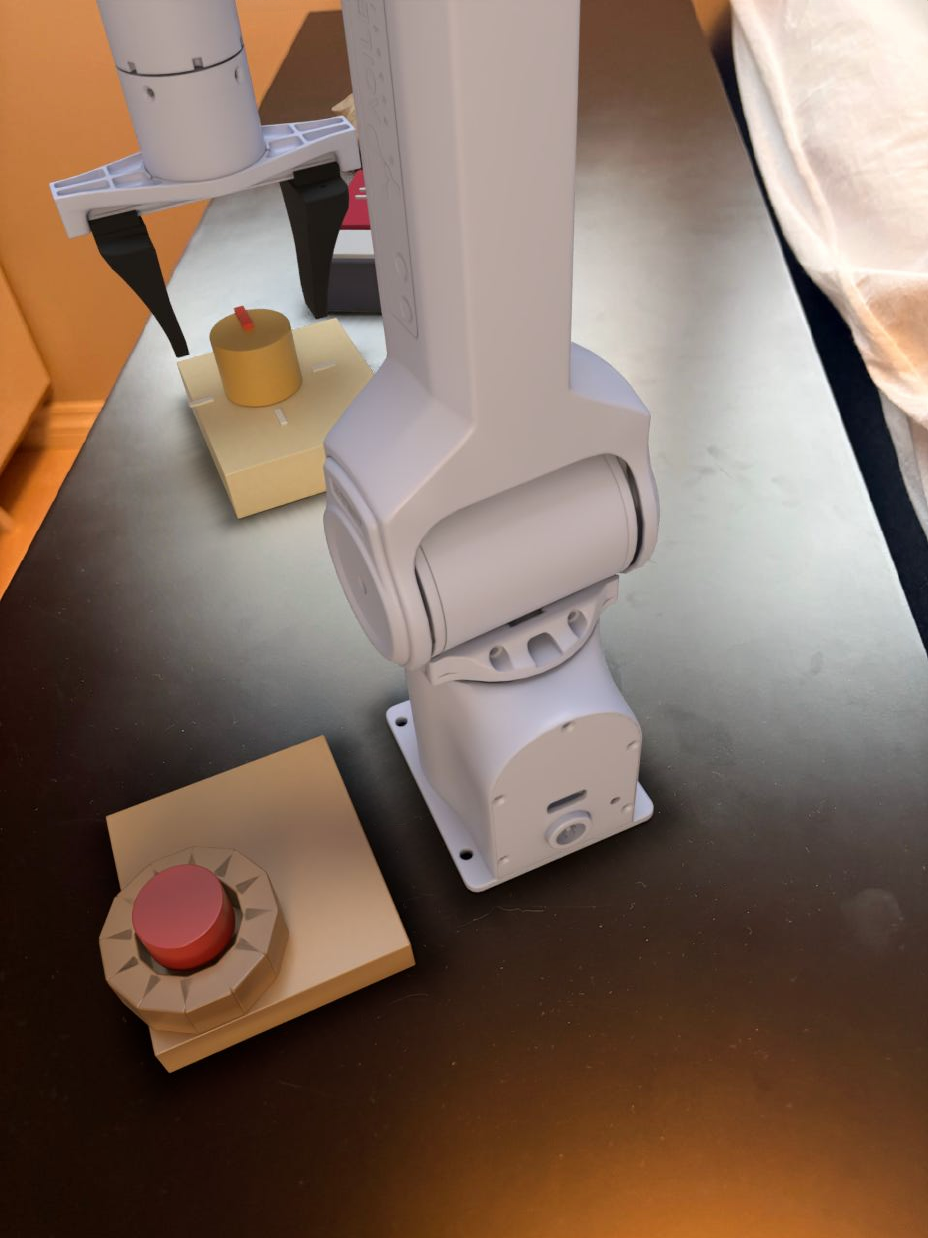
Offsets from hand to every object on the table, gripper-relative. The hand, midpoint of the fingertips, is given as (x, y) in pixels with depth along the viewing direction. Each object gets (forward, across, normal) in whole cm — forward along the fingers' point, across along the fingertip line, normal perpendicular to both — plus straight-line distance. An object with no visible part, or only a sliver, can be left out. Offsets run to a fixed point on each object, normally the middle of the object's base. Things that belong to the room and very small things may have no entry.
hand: (249, 328), depth 54 cm
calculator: (+7, -14, -15) cm, 22 cm away
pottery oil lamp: (+7, -22, -33) cm, 40 cm away
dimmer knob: (+4, 0, 0) cm, 4 cm away
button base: (+6, +9, +29) cm, 31 cm away
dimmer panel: (+7, -1, +1) cm, 7 cm away
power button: (+3, +11, +31) cm, 33 cm away
